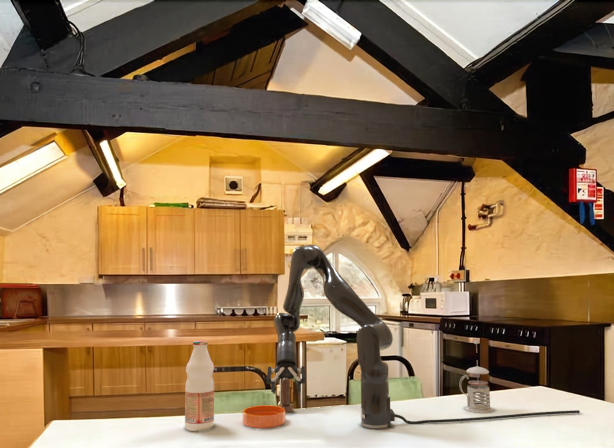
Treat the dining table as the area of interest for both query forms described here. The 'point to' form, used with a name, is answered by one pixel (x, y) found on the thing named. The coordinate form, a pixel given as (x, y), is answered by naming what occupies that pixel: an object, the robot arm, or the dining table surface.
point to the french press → (481, 388)
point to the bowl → (263, 416)
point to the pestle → (286, 396)
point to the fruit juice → (199, 389)
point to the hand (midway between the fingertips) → (285, 392)
